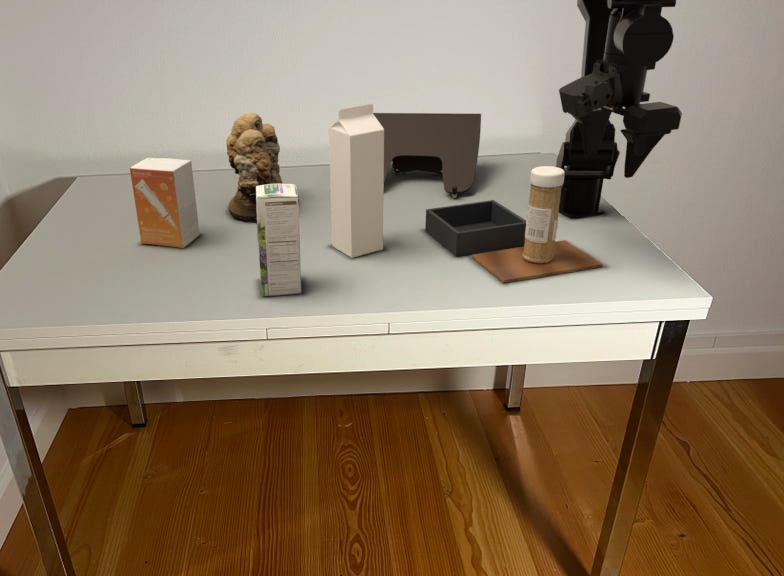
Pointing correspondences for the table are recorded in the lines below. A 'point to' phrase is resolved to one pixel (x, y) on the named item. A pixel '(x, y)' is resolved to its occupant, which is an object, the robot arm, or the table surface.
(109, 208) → the table surface
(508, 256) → the brown wooden board
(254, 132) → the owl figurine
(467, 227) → the bin
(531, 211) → the sprinkles bottle
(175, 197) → the small box
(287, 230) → the syrup box
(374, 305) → the table surface
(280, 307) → the table surface
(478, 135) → the laptop tray
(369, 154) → the milk
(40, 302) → the table surface
